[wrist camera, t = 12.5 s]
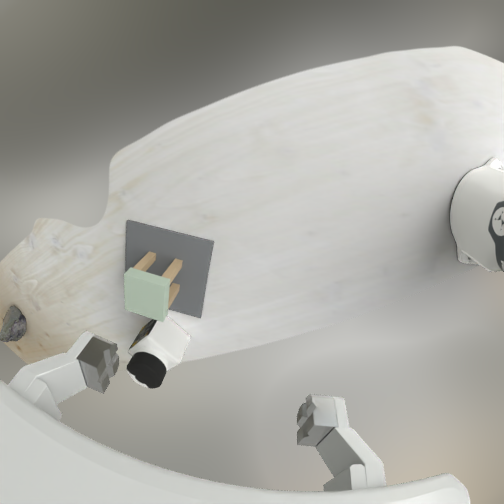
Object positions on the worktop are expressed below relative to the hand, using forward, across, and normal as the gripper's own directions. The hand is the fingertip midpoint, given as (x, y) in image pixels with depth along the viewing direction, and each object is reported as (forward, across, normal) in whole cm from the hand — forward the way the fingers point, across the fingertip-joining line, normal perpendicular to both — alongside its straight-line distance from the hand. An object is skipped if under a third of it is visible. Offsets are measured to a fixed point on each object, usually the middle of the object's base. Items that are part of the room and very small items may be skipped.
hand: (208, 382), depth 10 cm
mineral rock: (+30, +60, +46) cm, 81 cm away
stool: (+29, +12, +14) cm, 34 cm away
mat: (+29, +12, +14) cm, 34 cm away
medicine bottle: (+29, +11, +27) cm, 41 cm away
